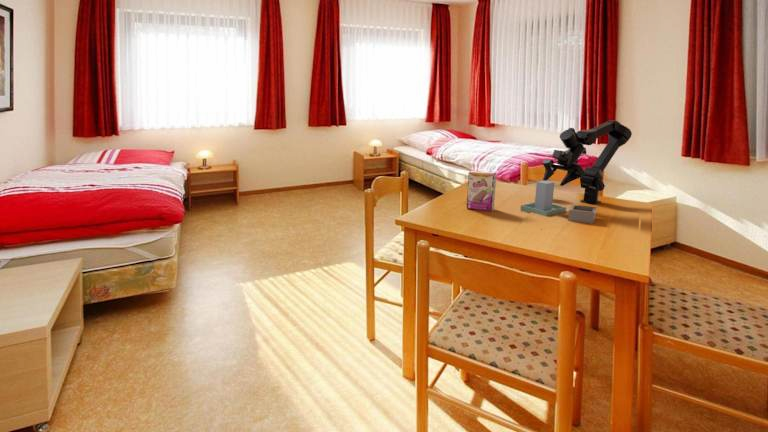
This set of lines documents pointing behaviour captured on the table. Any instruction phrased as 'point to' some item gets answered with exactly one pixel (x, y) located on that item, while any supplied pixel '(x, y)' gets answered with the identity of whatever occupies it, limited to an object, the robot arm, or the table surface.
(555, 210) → the tray
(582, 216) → the holder
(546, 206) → the block
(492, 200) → the candy bar box
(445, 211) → the table surface
